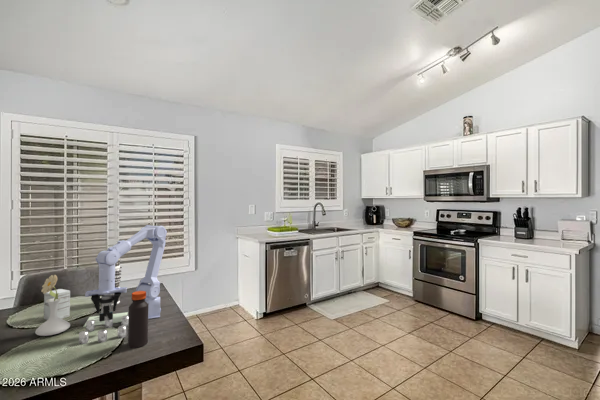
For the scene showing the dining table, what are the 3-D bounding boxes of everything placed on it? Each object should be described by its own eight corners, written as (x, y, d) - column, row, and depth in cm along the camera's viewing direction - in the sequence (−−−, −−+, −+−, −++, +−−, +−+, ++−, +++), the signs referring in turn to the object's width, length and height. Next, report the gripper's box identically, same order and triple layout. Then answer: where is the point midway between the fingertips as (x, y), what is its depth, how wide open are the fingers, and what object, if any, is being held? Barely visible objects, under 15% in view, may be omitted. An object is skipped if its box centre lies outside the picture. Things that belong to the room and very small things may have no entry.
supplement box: (42, 319, 138) (43, 292, 138) (60, 314, 145) (61, 288, 145) (52, 322, 135) (53, 294, 135) (70, 316, 142) (70, 290, 142)
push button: (94, 323, 119) (95, 298, 120) (94, 319, 124) (95, 295, 124) (113, 320, 123) (114, 296, 123) (113, 316, 127) (113, 293, 128)
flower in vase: (35, 331, 125) (37, 272, 125) (69, 324, 132) (71, 269, 132) (34, 342, 115) (35, 278, 115) (71, 334, 122) (72, 274, 123)
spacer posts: (129, 322, 135) (130, 313, 135) (125, 338, 119) (125, 328, 119) (87, 328, 128) (87, 319, 129) (76, 346, 112) (77, 336, 112)
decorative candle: (104, 301, 164) (104, 256, 164) (122, 299, 167) (123, 255, 167) (98, 306, 155) (99, 259, 156) (118, 305, 158) (119, 258, 158)
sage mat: (128, 312, 147) (128, 312, 147) (125, 321, 136) (125, 320, 136) (89, 317, 140) (89, 316, 140) (83, 327, 129) (83, 326, 129)
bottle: (143, 338, 119) (144, 289, 120) (150, 343, 115) (151, 292, 116) (125, 344, 114) (126, 292, 115) (132, 350, 110) (133, 296, 110)
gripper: (83, 283, 117) (83, 317, 117) (125, 279, 124) (125, 312, 123) (87, 279, 124) (87, 311, 124) (127, 275, 130) (127, 306, 130)
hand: (106, 311), depth 124 cm, fingers closed on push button, 5 cm apart
